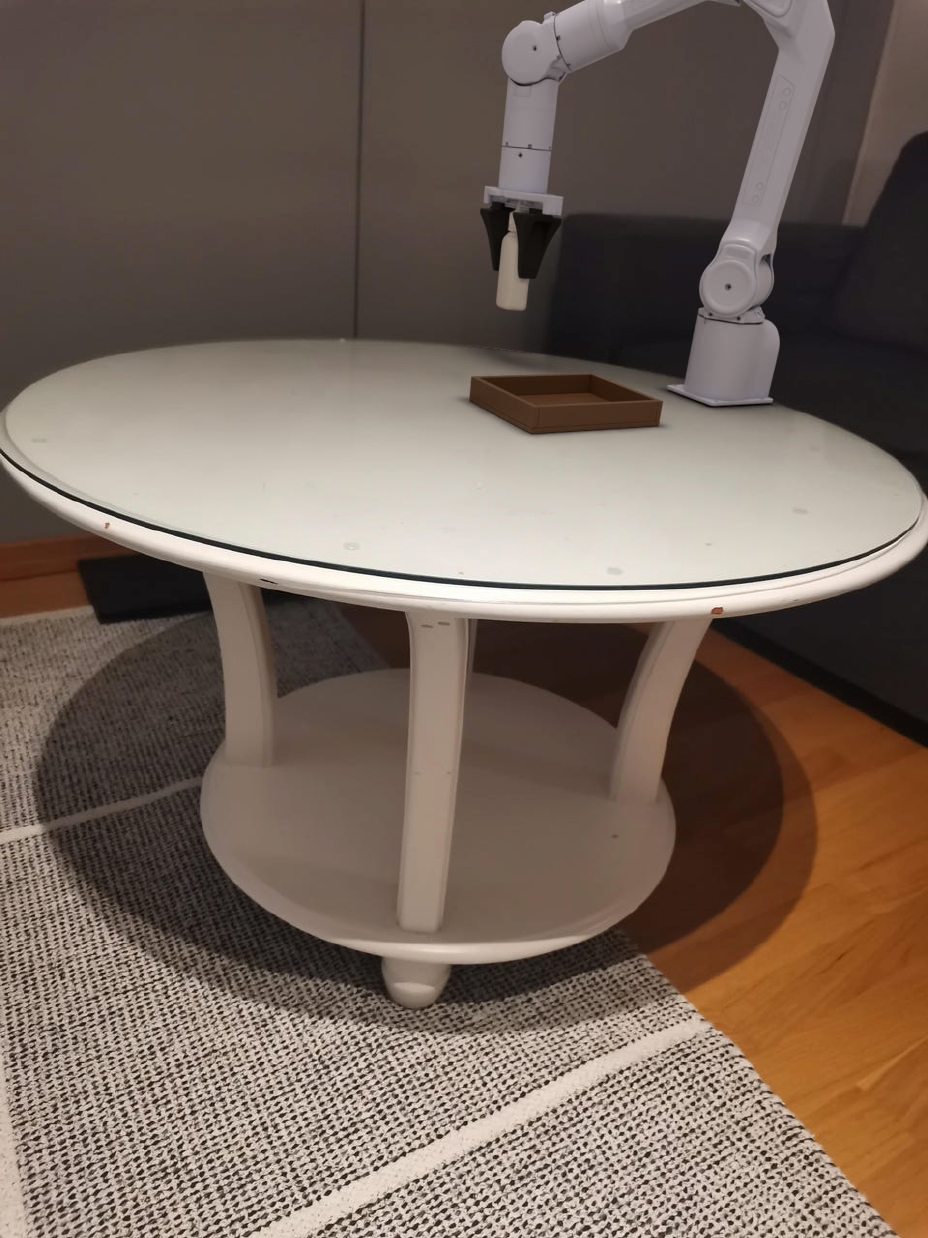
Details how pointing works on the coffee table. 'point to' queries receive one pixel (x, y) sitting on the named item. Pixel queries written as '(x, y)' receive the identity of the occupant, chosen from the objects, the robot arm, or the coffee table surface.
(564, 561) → the coffee table surface
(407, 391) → the coffee table surface
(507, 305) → the eye dropper bottle
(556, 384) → the tray
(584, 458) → the coffee table surface
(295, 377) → the coffee table surface
